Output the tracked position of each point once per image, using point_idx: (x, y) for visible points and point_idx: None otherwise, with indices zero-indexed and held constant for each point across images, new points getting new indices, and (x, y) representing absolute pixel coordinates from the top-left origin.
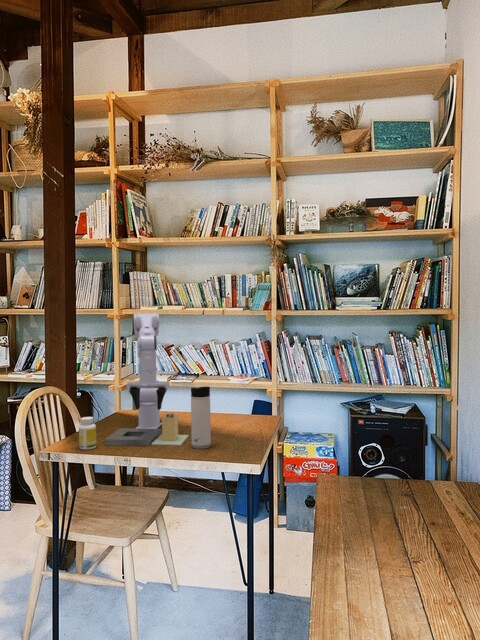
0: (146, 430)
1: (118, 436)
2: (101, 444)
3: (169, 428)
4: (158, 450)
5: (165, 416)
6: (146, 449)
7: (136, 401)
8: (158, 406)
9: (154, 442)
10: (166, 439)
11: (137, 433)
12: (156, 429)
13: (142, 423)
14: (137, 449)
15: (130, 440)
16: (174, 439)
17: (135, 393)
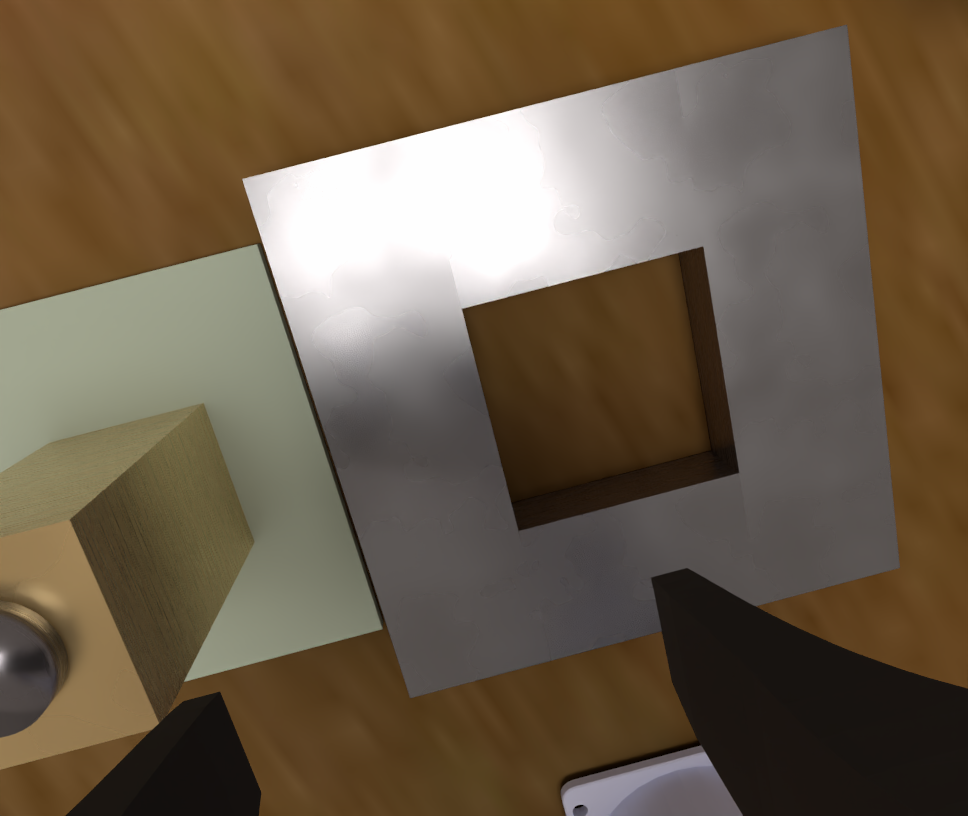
0: (538, 587)
1: (734, 221)
2: (862, 72)
3: (38, 481)
4: (24, 49)
5: (57, 604)
6: (200, 43)
7: (735, 647)
8: (162, 736)
9: (255, 311)
10: (147, 420)
11: (612, 497)
12: (445, 662)
13: (733, 805)
14: (309, 5)
15: (488, 116)
16: (47, 447)
17: (885, 783)
